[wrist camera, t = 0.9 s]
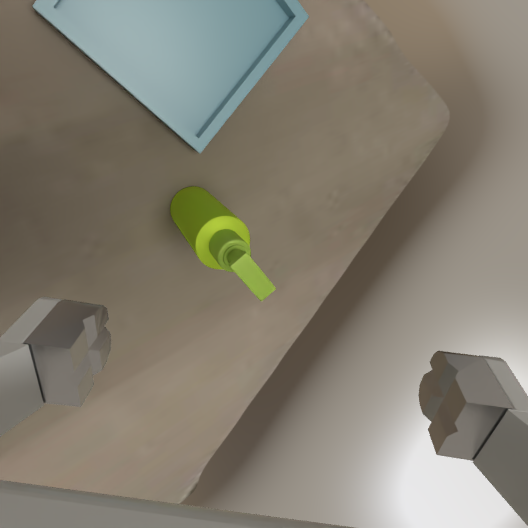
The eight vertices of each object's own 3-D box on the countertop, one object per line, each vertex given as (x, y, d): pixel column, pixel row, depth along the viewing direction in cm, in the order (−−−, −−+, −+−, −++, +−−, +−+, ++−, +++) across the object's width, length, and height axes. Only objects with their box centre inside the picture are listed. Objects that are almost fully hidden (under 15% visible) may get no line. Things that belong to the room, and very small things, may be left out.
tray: (34, 10, 37) (32, 6, 35) (165, -166, 36) (170, -181, 34) (194, 150, 48) (200, 153, 46) (298, 19, 47) (308, 16, 45)
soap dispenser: (194, 243, 53) (247, 318, 36) (160, 206, 49) (201, 271, 33) (227, 215, 53) (294, 277, 37) (196, 176, 50) (255, 225, 33)
